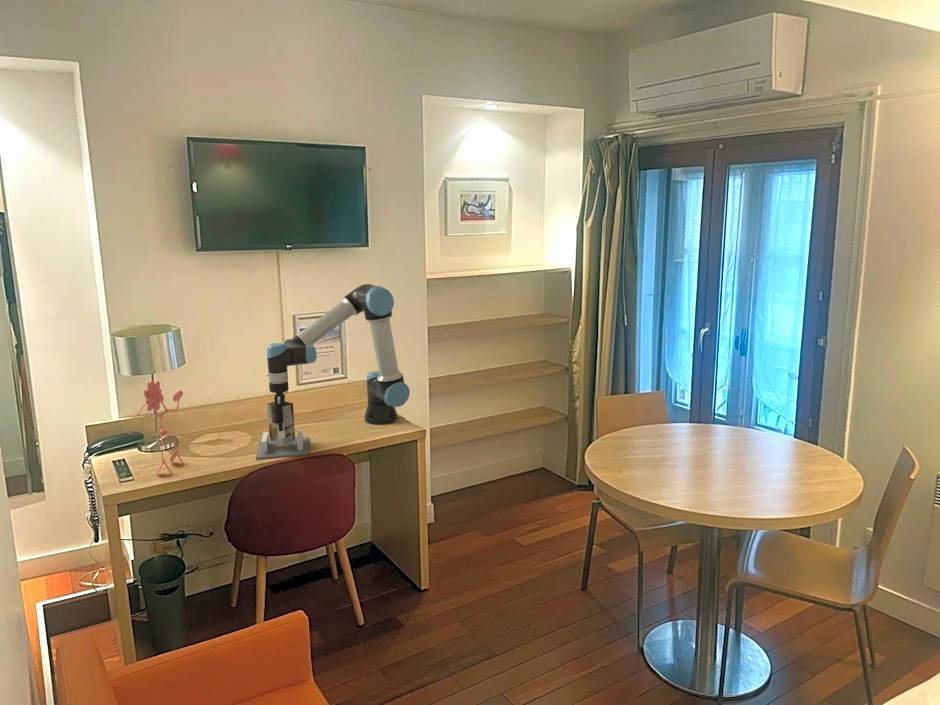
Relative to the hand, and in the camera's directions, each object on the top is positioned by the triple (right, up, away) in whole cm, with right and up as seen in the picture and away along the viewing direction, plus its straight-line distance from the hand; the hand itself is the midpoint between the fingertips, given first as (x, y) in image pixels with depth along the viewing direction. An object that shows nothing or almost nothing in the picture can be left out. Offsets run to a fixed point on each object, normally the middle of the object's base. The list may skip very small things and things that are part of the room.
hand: (282, 433), depth 281 cm
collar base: (0, -6, +2) cm, 7 cm away
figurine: (-41, -11, -18) cm, 47 cm away
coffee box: (0, -3, +1) cm, 3 cm away
